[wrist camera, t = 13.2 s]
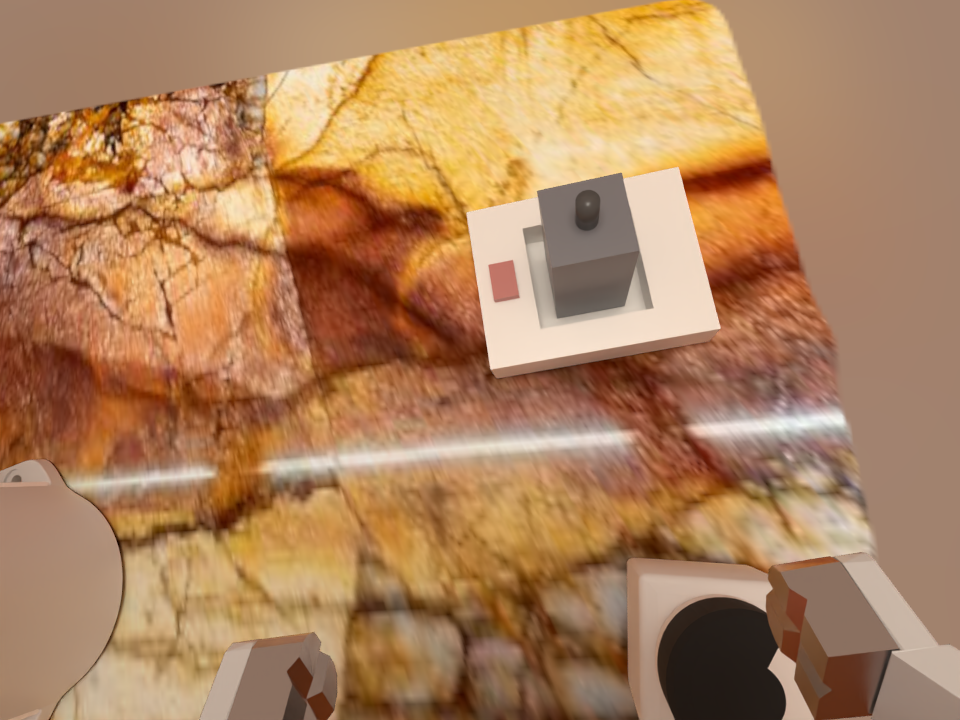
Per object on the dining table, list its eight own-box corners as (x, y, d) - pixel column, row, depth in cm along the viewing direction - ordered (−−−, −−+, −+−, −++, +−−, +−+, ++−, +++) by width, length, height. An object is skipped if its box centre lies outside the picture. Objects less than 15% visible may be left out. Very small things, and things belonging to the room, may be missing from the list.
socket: (496, 378, 38) (489, 367, 35) (474, 232, 41) (464, 208, 37) (709, 341, 36) (723, 325, 33) (670, 190, 39) (680, 161, 36)
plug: (557, 318, 38) (550, 252, 27) (545, 257, 39) (534, 170, 28) (624, 305, 37) (644, 233, 27) (611, 244, 38) (624, 150, 28)
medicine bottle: (627, 684, 33) (656, 790, 21) (626, 556, 34) (652, 590, 23) (758, 698, 32) (863, 818, 20) (750, 564, 33) (844, 604, 22)
